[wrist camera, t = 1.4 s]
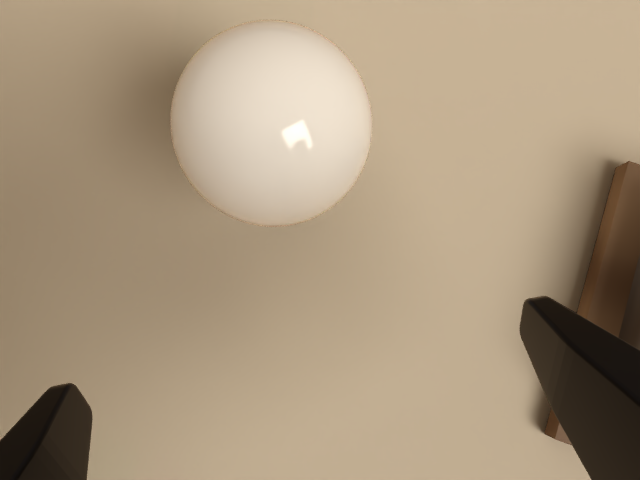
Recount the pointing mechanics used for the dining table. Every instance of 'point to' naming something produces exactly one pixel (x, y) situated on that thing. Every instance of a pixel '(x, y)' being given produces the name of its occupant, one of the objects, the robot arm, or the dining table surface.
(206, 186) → the lightbulb
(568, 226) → the dining table surface
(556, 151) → the dining table surface
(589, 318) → the socket block
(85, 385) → the dining table surface
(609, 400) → the robot arm
